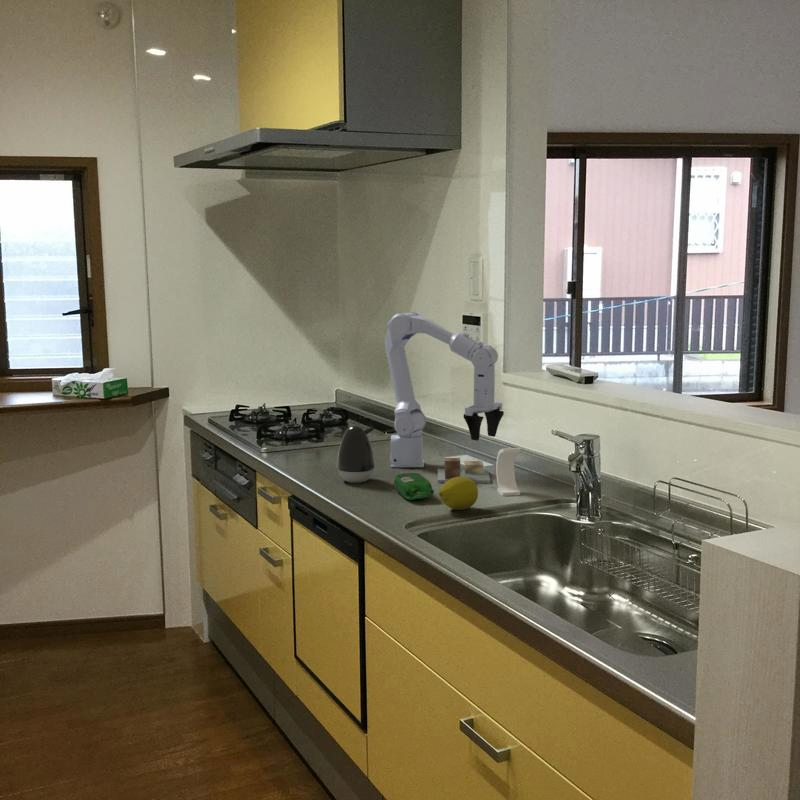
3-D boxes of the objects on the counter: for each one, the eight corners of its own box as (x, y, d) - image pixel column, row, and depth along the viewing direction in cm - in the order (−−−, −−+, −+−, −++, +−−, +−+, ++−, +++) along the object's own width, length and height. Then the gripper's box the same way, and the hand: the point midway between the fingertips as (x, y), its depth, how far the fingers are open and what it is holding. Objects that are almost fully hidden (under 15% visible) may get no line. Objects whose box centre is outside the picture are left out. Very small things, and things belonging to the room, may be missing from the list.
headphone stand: (502, 496, 240) (503, 449, 238) (495, 490, 245) (496, 444, 244) (520, 495, 240) (520, 448, 239) (513, 489, 246) (513, 444, 244)
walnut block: (445, 479, 254) (445, 461, 254) (445, 475, 258) (445, 457, 258) (460, 479, 254) (460, 461, 253) (459, 475, 258) (459, 457, 257)
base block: (465, 473, 260) (465, 464, 260) (464, 469, 265) (464, 460, 265) (483, 473, 260) (483, 464, 260) (482, 469, 265) (482, 460, 265)
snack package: (407, 505, 232) (407, 484, 231) (391, 490, 246) (391, 470, 246) (435, 503, 233) (435, 483, 233) (417, 488, 248) (418, 469, 247)
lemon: (470, 503, 232) (470, 471, 231) (486, 511, 225) (486, 478, 224) (430, 508, 228) (430, 476, 227) (445, 516, 221) (446, 482, 220)
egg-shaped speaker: (381, 482, 254) (381, 426, 252) (346, 486, 250) (345, 430, 247) (366, 474, 263) (365, 420, 261) (331, 478, 259) (330, 423, 256)
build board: (437, 482, 254) (437, 479, 253) (437, 471, 267) (437, 468, 267) (490, 483, 253) (490, 480, 253) (487, 471, 267) (487, 468, 267)
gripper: (479, 394, 255) (478, 443, 257) (511, 388, 265) (510, 436, 267) (459, 391, 260) (458, 440, 262) (491, 386, 270) (490, 433, 272)
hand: (483, 438), depth 265 cm, fingers open, 7 cm apart
